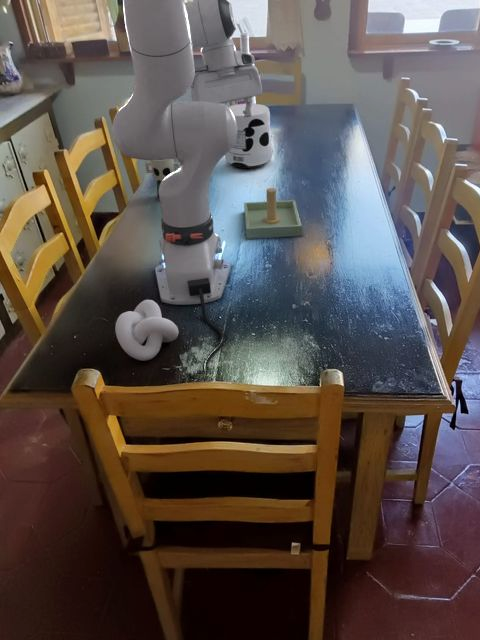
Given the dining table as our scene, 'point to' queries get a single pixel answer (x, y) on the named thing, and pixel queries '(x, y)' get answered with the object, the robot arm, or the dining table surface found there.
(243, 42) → the bottle
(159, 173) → the character mug
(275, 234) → the tray
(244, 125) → the milk container
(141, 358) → the white trefoil knot
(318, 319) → the dining table surface
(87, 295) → the dining table surface
